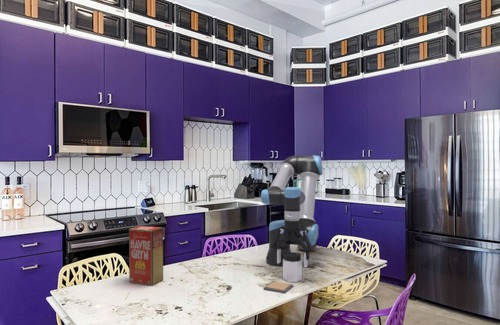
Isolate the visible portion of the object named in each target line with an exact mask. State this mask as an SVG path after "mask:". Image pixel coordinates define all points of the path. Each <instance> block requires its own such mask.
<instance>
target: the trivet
mask: <svg viewBox="0 0 500 325" xmlns="http://www.w3.org/2000/svg"><path fill="white" fill-rule="evenodd" d="M293 287H294V284H290V283H288V282H287V283H286V282H285V283H284V282H282V281H281V282H280V281H271V282H270V283H268V284H267V285H265V286H264V287H263V290H264V291H269V292H275V293H280V294H286V293H287V292H288V291H290V290H292V288H293Z"/></svg>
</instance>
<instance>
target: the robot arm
mask: <svg viewBox="0 0 500 325" xmlns="http://www.w3.org/2000/svg"><path fill="white" fill-rule="evenodd" d="M322 162H323V161H322V158H321V156H320V155H314V154H313V155H292V156H289V157H287V158H286V159H284V160H283V161H282V162H281V163H280V165H279V166H278V169H277V170H278V171H277V173H276V176H275V177H274V179H273V181H272V182H271V184H270V186H269V188H268V189H267V188H266V189H263V190H261V192H260V193H261V194H260V199H261V200H260V201H261V203H262V204H263V205H264V204H265V205H275V206H276V205H281V206H284V219H281V220H278V219H277V220H274V221H271V222H270V223H269V226H268V250H267V254H266V257H265V263H266V264H267V265H270V266H276V267H283V259H284V253H287V252H292V250H291V245H294V246H298V245H301V246H302V248H303V249H304V250H305V251H304V252H303V267H304V268H307V267H308V266H309V265H308V261H309V260H310V254H311V253H312V252H314V251H315V250H314V249H313V247H312V246H313V245H315V243H316V244H317V242H316V241H318V238H319V237H318V235H319V225H318V224H317V222H316V220H315V218H314V215H315V202H316V192H317V190H316V189H317V181H318V180H319V179H320V176H323V172H324V171H323V163H322ZM293 175H294V176H295V175H297V176H298V175H299V178H301V184H300V187H298V186H296V187H294V186H290V187H289V186H287V184H288V182H289V181H290V178H292V177H293ZM317 237H318V238H317ZM313 250H314V251H313Z"/></svg>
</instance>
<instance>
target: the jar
mask: <svg viewBox="0 0 500 325" xmlns="http://www.w3.org/2000/svg"><path fill="white" fill-rule="evenodd" d="M282 279H283V280H284V281H285V282H287V283H289V282H290V283H298V282H299V281H302V280H303V260H302V254H301V253H300V252H295V251H291V252H287V253H284V259H283V266H282Z"/></svg>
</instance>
